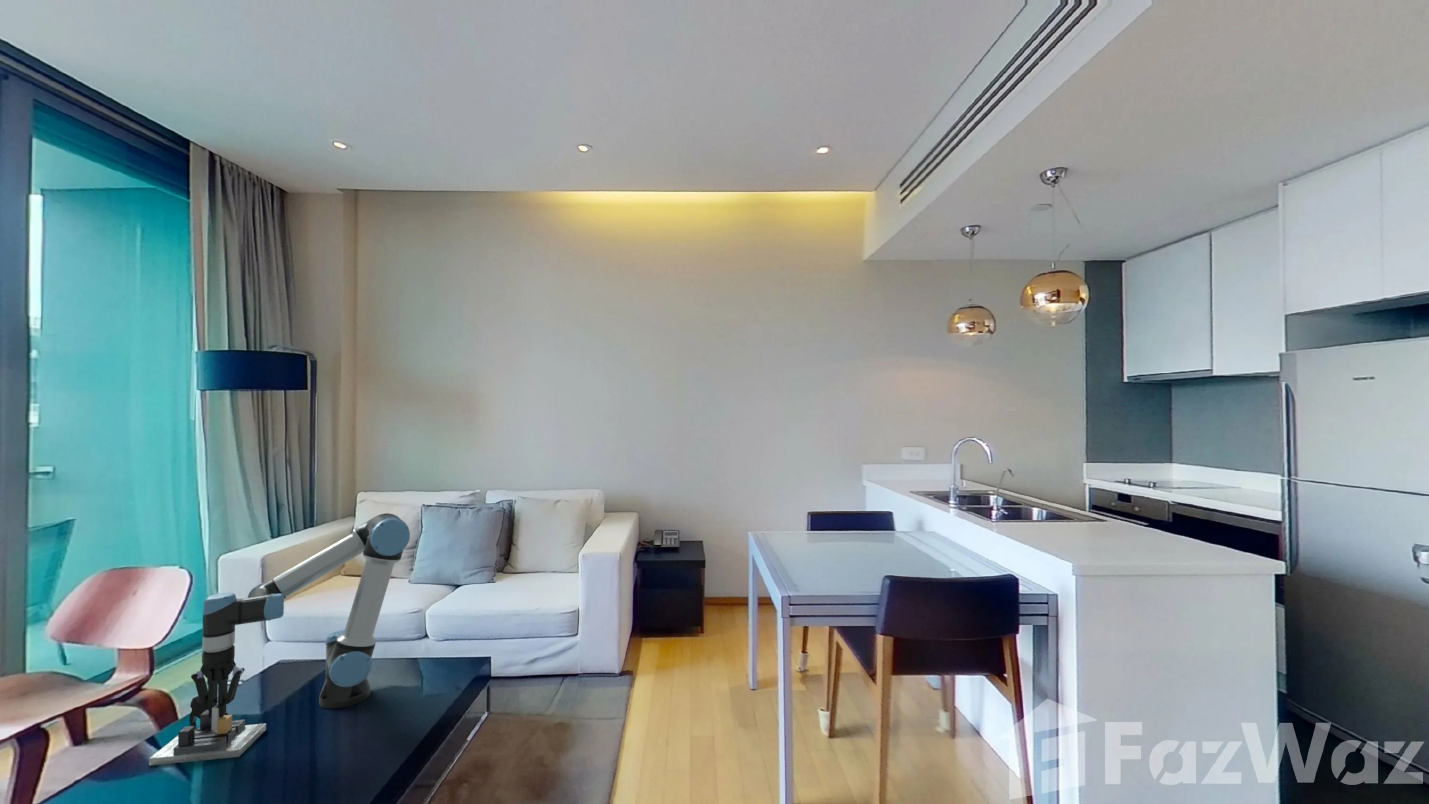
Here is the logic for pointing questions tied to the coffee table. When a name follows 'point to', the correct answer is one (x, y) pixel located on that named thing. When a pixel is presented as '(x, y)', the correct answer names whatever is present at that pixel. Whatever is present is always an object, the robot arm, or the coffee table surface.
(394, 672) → the coffee table surface
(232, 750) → the panel
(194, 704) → the gun
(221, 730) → the handle
